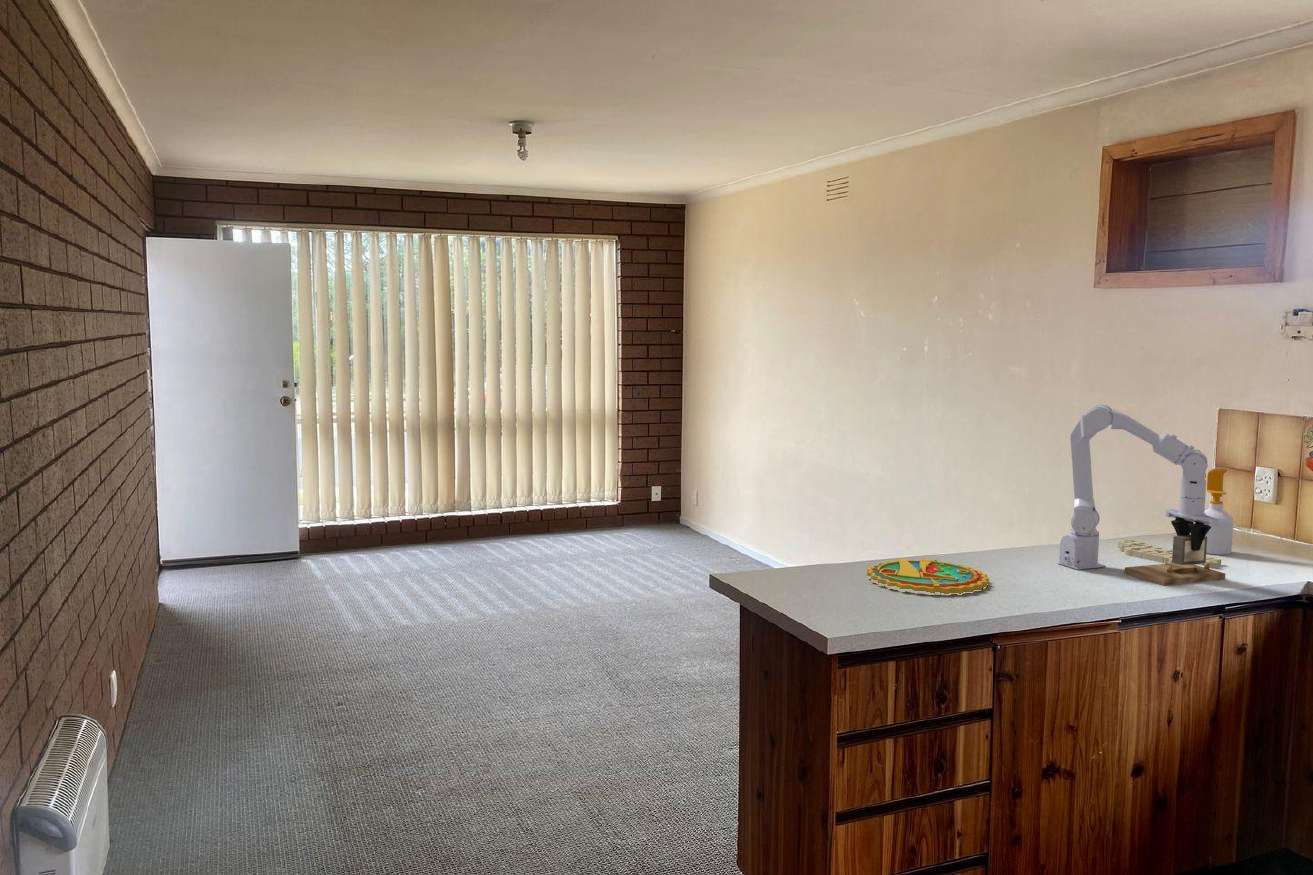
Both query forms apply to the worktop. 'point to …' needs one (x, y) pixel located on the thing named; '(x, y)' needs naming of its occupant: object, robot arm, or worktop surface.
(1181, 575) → the board
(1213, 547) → the soap bottle
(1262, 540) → the worktop surface
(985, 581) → the decorative plaque
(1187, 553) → the metal block
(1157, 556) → the decorative sign
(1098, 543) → the robot arm
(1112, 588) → the worktop surface
